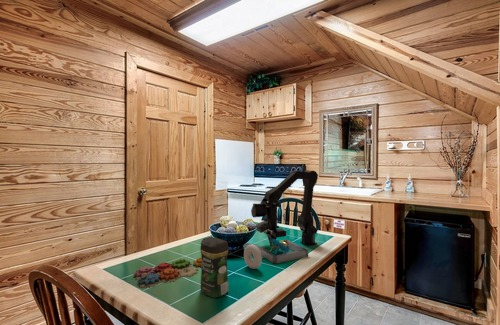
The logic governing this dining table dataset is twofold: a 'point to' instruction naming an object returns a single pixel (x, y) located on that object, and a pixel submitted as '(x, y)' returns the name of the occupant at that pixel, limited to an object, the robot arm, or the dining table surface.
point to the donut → (256, 253)
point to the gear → (278, 246)
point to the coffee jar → (214, 267)
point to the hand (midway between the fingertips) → (271, 246)
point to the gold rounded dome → (284, 242)
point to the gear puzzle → (166, 272)
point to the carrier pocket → (298, 253)
